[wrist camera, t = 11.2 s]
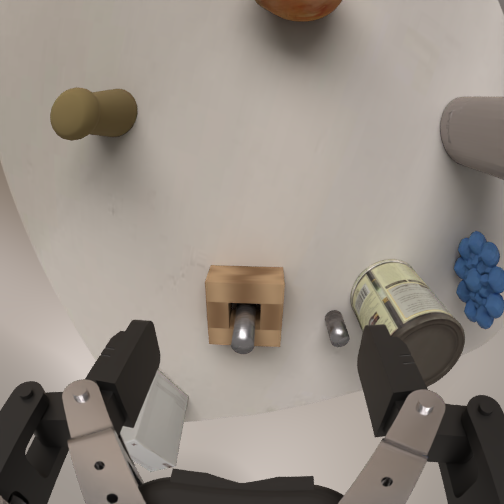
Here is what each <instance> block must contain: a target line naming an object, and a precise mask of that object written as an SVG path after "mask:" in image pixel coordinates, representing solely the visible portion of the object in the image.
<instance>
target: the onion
mask: <svg viewBox="0 0 504 504" xmlns="http://www.w3.org/2000/svg"><path fill="white" fill-rule="evenodd" d="M255 1H256V3H257V4H258V5H260V6H261V7H263V8H264V9H266V10H268V11H270V12H272V13H273V14H275V15H277V16H279V17H282V18H284V19H287V20H291V21H312V20H316V19H320V18H323V17H325V16H326V15H328V14H330V13H331V12H332V11H334V10H335V9H336V8H337V6H338V5H339V4H340V3H341V1H342V0H255Z"/></svg>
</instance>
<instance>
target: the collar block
mask: <svg viewBox="0 0 504 504" xmlns="http://www.w3.org/2000/svg"><path fill="white" fill-rule="evenodd" d="M284 287H285V283H284V274H283V267H248V266H215V265H211V267H210V269H209V272H208V275H207V278H206V281H205V289H206V305H207V320H208V334H209V344H220V345H231V342H232V335H233V329H234V322H235V315H236V309H232V303H255V304H261V310H256V317H255V337H254V346H274V347H280V341H281V328H282V315H283V301H284Z"/></svg>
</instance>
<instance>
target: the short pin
mask: <svg viewBox="0 0 504 504" xmlns="http://www.w3.org/2000/svg"><path fill="white" fill-rule="evenodd" d="M325 321H326V325H327V329H328V332H329V336H330V340H331V343H332V345H333V346H336V347H341V346H344V345H346V344H347V343H348V341H349V335H348V332H347V329H346V326H345V323H344V320H343V317H342V314H341V313H340V312H339V311H336V310H333V311H330V312H328V313H327V314H326V316H325Z"/></svg>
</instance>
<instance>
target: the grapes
mask: <svg viewBox="0 0 504 504" xmlns="http://www.w3.org/2000/svg"><path fill="white" fill-rule="evenodd" d="M458 251H459V253H460V255H461V257H460V258H458V259H457V261H456V263H455V266H454V270H455V272H456V274H457V275H458V276H459V277H460V278H461V279H463V280H462V281H461V282H460V283H459V285H458V287H457V292H456V293H457V295H458V297H459V298H460V299H461V300H462V301H463V302H465V303H466V306H465V310H464V312H465V314H466V316H467V318H468V319H469V320H470V321H472V322H476V321H477V323H478V324H479V326H480V327H481V328H484V329H487V328H490V326H491V325H492V324H493V321H494V318H499V317H500V316H501V315H502V313H503V311H504V300H503V298H502V296H501V295H500V294H499V293H502V292H503V291H504V270H503V269H502V268H501V267H497V266H496V265H497V264H498V262H499V258H500V254H499V250H498V248H497V246H496V245H495V244H493V243H492V242H487V241H486V239H485V237H484V235H483V234H482V233H481V232H478V231H475V232H473V233H472V234H471V236H470V237H469V238H464V239H462V241H461V242H460V244H459V248H458Z"/></svg>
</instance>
